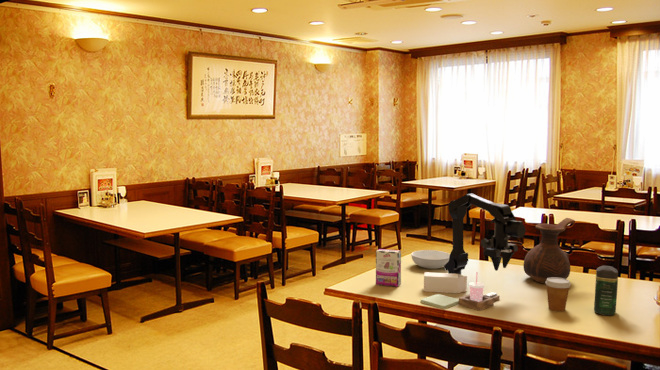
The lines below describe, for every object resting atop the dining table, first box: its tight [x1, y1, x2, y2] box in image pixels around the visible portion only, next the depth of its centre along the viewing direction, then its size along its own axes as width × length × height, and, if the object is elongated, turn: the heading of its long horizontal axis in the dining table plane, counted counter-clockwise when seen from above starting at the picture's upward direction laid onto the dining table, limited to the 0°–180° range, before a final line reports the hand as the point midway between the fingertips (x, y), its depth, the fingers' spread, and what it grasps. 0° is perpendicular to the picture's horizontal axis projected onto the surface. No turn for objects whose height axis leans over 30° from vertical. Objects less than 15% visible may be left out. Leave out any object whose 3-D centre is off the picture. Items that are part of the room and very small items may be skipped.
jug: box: [523, 217, 576, 284], centre depth 267 cm, size 22×22×30 cm
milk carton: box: [423, 271, 468, 294], centre depth 251 cm, size 7×7×19 cm
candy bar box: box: [375, 248, 402, 288], centre depth 260 cm, size 11×5×16 cm, turn 68°
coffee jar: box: [593, 264, 619, 316], centre depth 221 cm, size 10×8×19 cm
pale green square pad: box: [420, 293, 459, 310], centre depth 234 cm, size 12×12×1 cm
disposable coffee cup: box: [544, 277, 571, 312], centre depth 225 cm, size 10×10×12 cm
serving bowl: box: [410, 249, 450, 270], centre depth 294 cm, size 21×21×7 cm
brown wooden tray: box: [458, 293, 500, 311], centre depth 234 cm, size 19×10×3 cm, turn 132°
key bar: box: [483, 291, 498, 300], centre depth 238 cm, size 6×3×2 cm, turn 133°
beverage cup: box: [468, 271, 485, 302], centre depth 230 cm, size 6×6×14 cm
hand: (500, 269), depth 242 cm, fingers open, 6 cm apart
